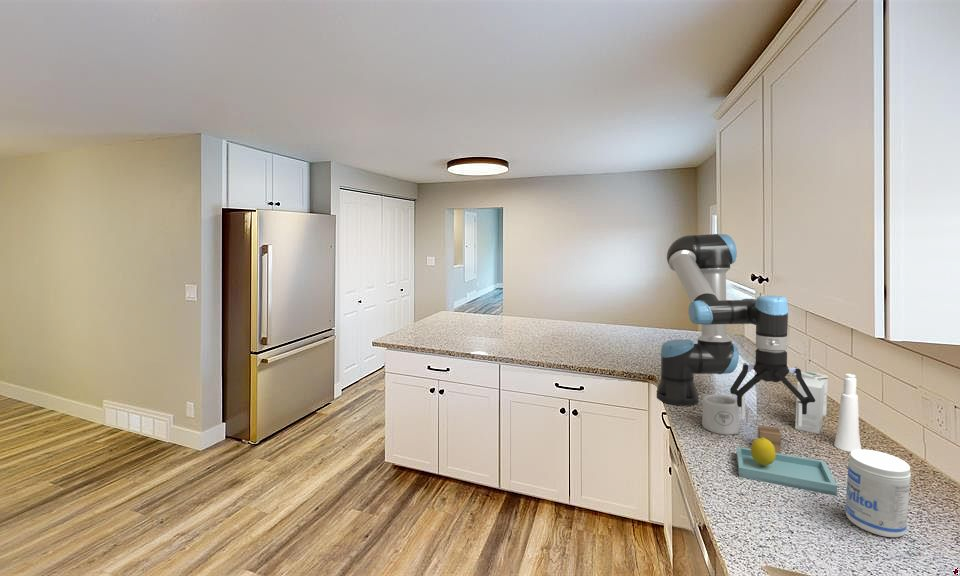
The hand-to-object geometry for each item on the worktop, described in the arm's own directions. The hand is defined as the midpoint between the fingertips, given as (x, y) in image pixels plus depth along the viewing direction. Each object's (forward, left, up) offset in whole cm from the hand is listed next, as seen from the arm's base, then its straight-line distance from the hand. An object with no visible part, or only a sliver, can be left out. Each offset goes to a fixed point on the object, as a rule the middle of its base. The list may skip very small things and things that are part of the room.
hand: (770, 421), depth 122 cm
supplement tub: (+30, +16, -9) cm, 35 cm away
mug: (-11, -11, -9) cm, 18 cm away
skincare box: (-22, +13, -9) cm, 27 cm away
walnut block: (0, 0, -9) cm, 9 cm away
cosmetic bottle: (-10, +20, -9) cm, 24 cm away
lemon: (+13, -3, -8) cm, 16 cm away
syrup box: (-36, +16, -9) cm, 41 cm away
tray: (+14, +1, -9) cm, 16 cm away
